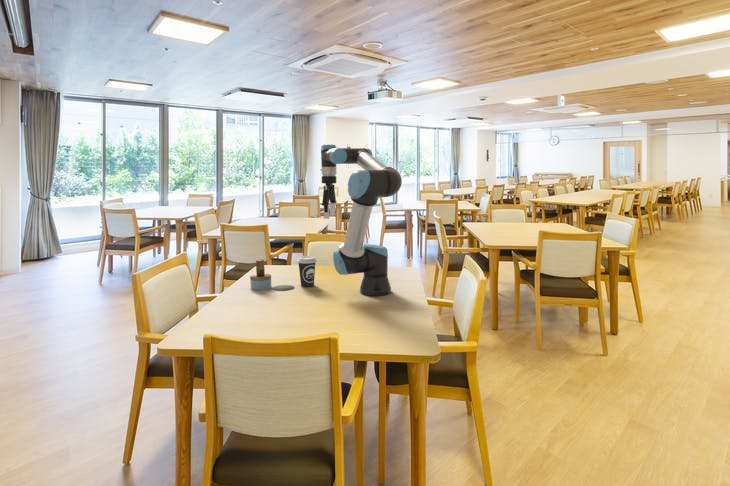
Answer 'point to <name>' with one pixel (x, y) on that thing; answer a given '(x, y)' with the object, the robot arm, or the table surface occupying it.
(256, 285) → the bowl
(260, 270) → the lid
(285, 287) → the mat
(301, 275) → the coffee cup
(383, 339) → the table surface
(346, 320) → the table surface
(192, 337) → the table surface
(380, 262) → the robot arm
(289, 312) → the table surface
